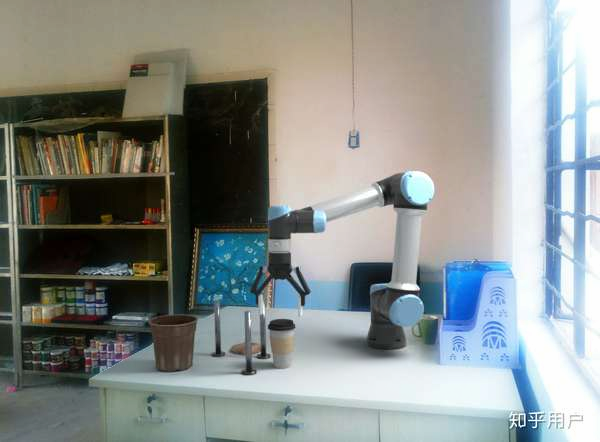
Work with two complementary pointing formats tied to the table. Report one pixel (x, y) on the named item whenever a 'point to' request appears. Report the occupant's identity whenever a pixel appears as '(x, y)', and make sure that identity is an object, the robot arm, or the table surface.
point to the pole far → (217, 331)
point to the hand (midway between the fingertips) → (280, 315)
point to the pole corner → (263, 336)
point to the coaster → (241, 348)
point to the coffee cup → (282, 341)
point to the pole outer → (248, 346)
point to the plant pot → (173, 341)
